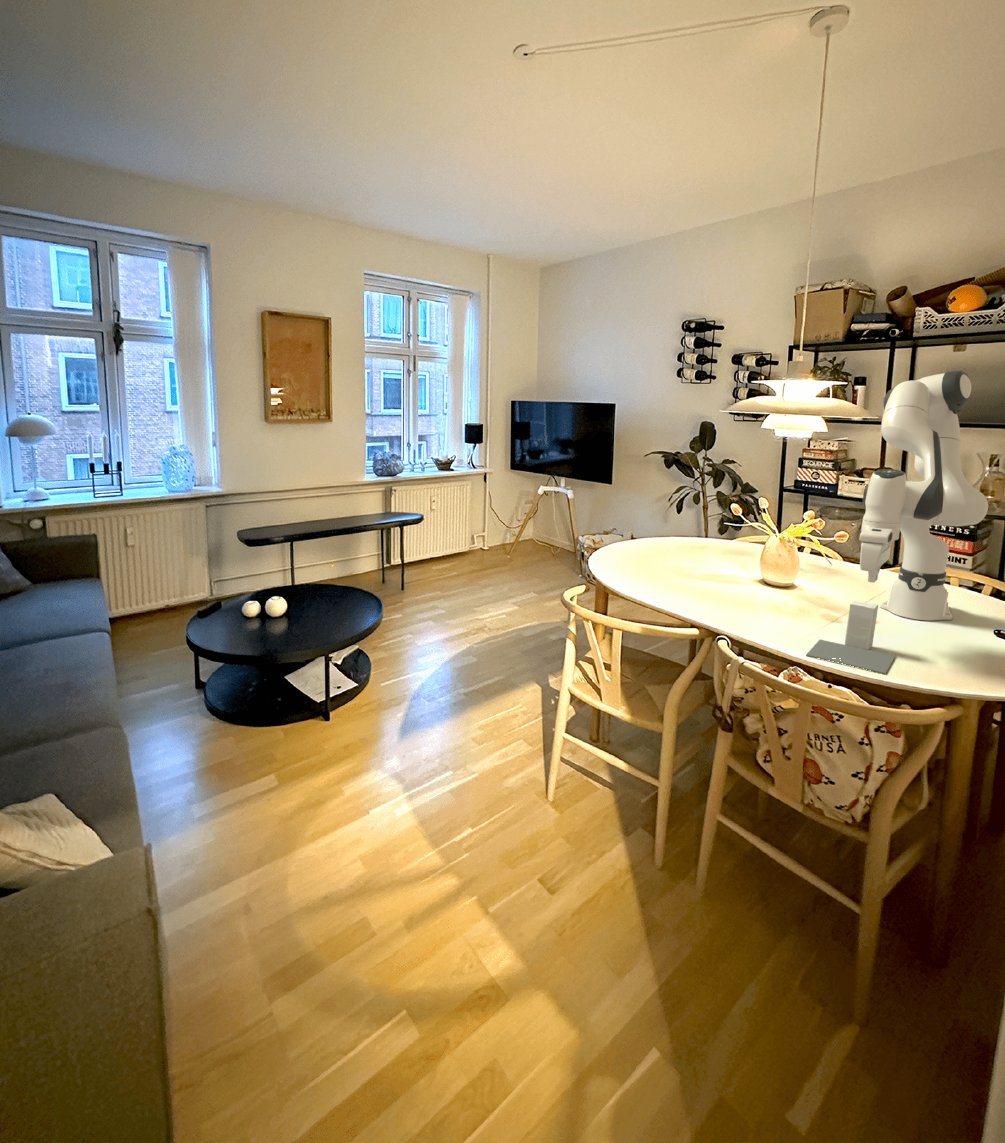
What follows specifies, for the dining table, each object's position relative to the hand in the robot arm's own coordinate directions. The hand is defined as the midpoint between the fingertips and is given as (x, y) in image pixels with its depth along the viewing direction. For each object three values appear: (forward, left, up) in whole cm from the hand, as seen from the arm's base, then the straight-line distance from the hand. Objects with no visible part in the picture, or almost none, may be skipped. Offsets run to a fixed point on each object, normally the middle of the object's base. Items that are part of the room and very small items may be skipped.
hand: (872, 581), depth 168 cm
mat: (+16, 0, -17) cm, 23 cm away
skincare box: (+7, 0, -17) cm, 18 cm away
